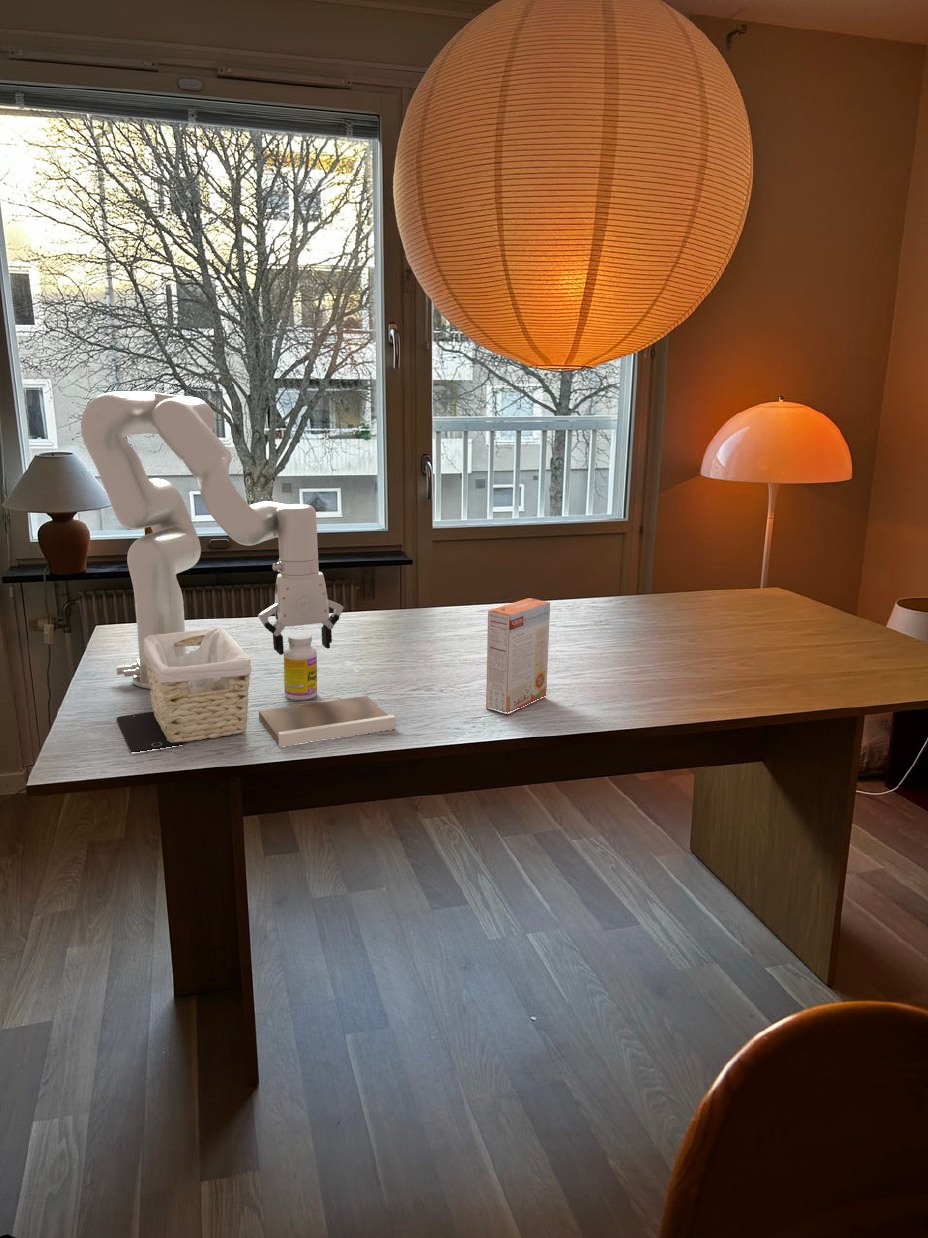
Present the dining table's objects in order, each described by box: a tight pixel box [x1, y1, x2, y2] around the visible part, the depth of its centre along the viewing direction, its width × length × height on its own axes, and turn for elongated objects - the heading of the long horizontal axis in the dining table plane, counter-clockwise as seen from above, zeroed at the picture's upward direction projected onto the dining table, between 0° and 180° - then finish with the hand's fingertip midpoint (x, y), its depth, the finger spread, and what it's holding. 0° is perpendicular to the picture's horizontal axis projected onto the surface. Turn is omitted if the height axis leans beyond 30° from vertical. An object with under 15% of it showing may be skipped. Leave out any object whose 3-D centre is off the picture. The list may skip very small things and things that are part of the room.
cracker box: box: [485, 597, 551, 713], centre depth 181 cm, size 14×6×21 cm, turn 141°
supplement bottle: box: [283, 632, 318, 701], centre depth 183 cm, size 7×7×13 cm
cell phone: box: [116, 711, 184, 753], centre depth 164 cm, size 9×18×1 cm, turn 29°
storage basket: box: [144, 627, 252, 743], centre depth 169 cm, size 24×16×15 cm
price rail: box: [278, 714, 396, 748], centre depth 164 cm, size 22×1×2 cm, turn 117°
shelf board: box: [258, 695, 389, 745], centre depth 170 cm, size 22×14×2 cm, turn 117°
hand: (303, 649), depth 182 cm, fingers open, 9 cm apart
